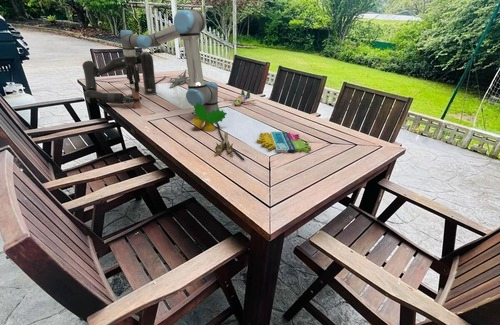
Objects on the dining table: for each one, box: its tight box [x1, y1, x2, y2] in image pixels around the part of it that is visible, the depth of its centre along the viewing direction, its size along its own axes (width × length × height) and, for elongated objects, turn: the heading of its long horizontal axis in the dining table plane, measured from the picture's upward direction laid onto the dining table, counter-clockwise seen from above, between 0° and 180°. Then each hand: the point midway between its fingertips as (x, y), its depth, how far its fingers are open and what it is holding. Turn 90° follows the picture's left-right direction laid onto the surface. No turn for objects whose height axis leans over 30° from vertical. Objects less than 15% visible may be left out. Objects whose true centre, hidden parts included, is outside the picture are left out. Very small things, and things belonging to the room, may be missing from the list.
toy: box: [223, 89, 257, 106], centre depth 219 cm, size 28×7×30 cm
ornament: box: [191, 102, 228, 132], centre depth 162 cm, size 21×8×15 cm, turn 105°
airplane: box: [165, 69, 190, 88], centre depth 260 cm, size 38×31×10 cm
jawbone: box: [214, 131, 234, 156], centre depth 136 cm, size 9×15×10 cm
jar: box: [130, 88, 142, 109], centre depth 188 cm, size 5×5×16 cm
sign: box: [256, 131, 312, 154], centre depth 152 cm, size 26×2×30 cm
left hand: (140, 99), depth 189 cm, fingers closed on jar, 5 cm apart
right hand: (135, 90), depth 186 cm, fingers closed on lid, 6 cm apart
